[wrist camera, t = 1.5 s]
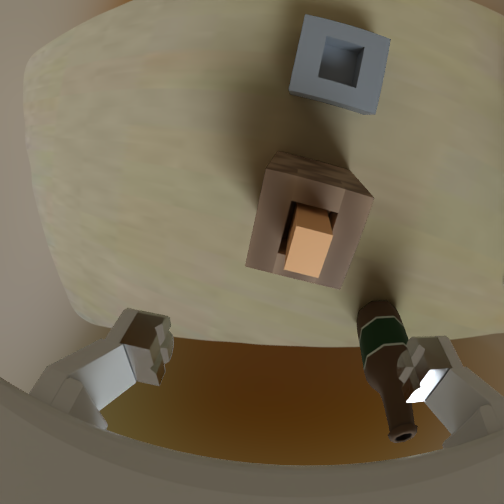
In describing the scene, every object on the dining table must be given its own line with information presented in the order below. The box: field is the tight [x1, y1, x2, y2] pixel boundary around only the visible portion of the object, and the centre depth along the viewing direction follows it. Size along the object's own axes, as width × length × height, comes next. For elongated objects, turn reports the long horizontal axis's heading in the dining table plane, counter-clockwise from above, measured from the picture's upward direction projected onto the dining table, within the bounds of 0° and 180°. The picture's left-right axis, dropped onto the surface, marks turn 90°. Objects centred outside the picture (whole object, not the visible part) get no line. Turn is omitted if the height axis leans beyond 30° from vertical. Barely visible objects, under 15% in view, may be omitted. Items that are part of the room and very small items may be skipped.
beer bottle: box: [357, 301, 418, 443], centre depth 35 cm, size 8×8×24 cm
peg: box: [284, 202, 333, 278], centre depth 26 cm, size 3×4×8 cm
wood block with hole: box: [245, 151, 374, 289], centre depth 33 cm, size 10×10×14 cm
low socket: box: [289, 14, 391, 115], centre depth 28 cm, size 10×10×6 cm
